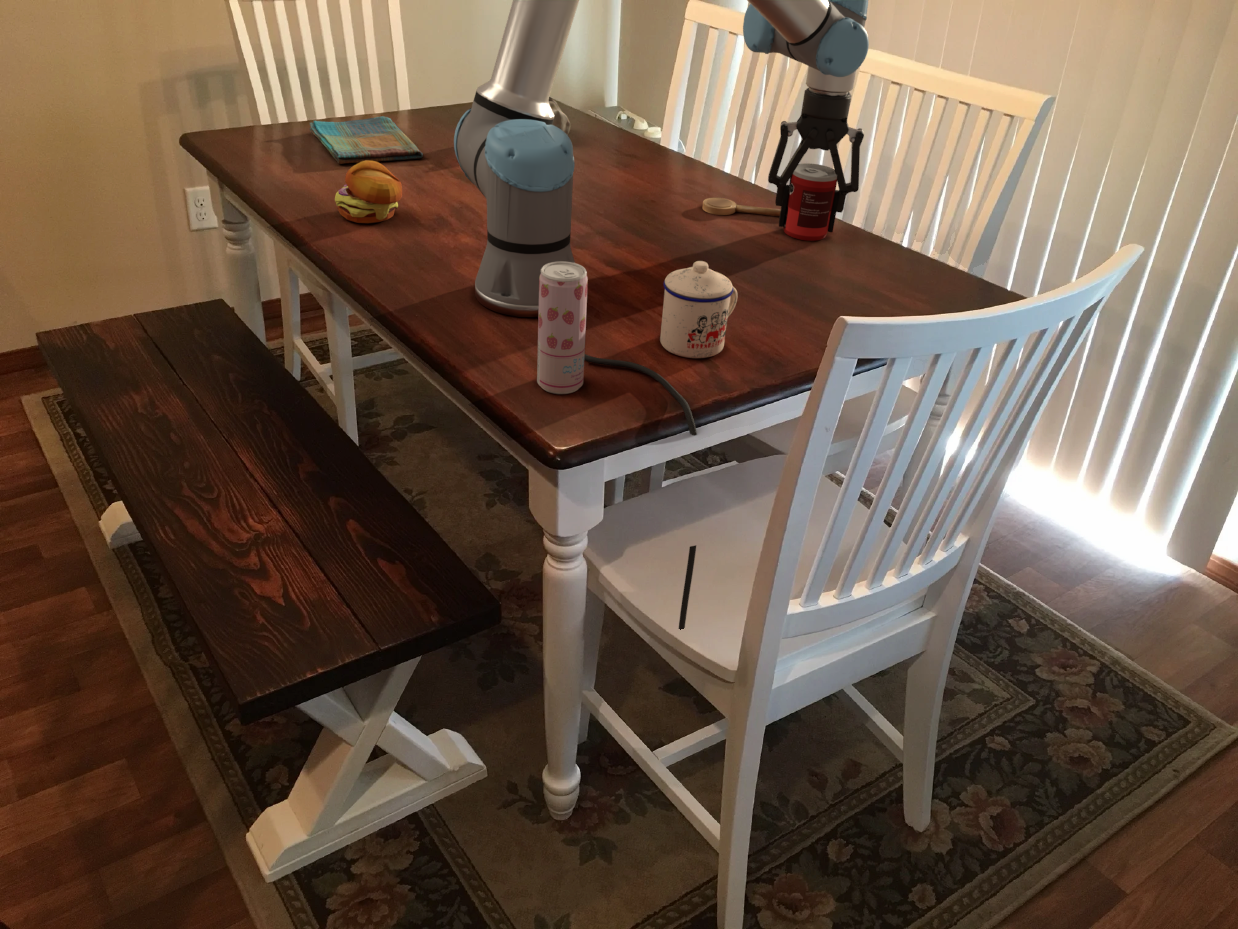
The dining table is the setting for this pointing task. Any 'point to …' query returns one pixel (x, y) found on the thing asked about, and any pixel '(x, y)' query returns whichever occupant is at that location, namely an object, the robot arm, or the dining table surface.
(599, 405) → the dining table surface
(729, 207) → the spoon
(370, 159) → the dish towel
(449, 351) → the dining table surface
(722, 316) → the teacup with lid
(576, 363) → the beverage can
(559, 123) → the ceramic sculpture
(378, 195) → the cheeseburger
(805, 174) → the canned food
